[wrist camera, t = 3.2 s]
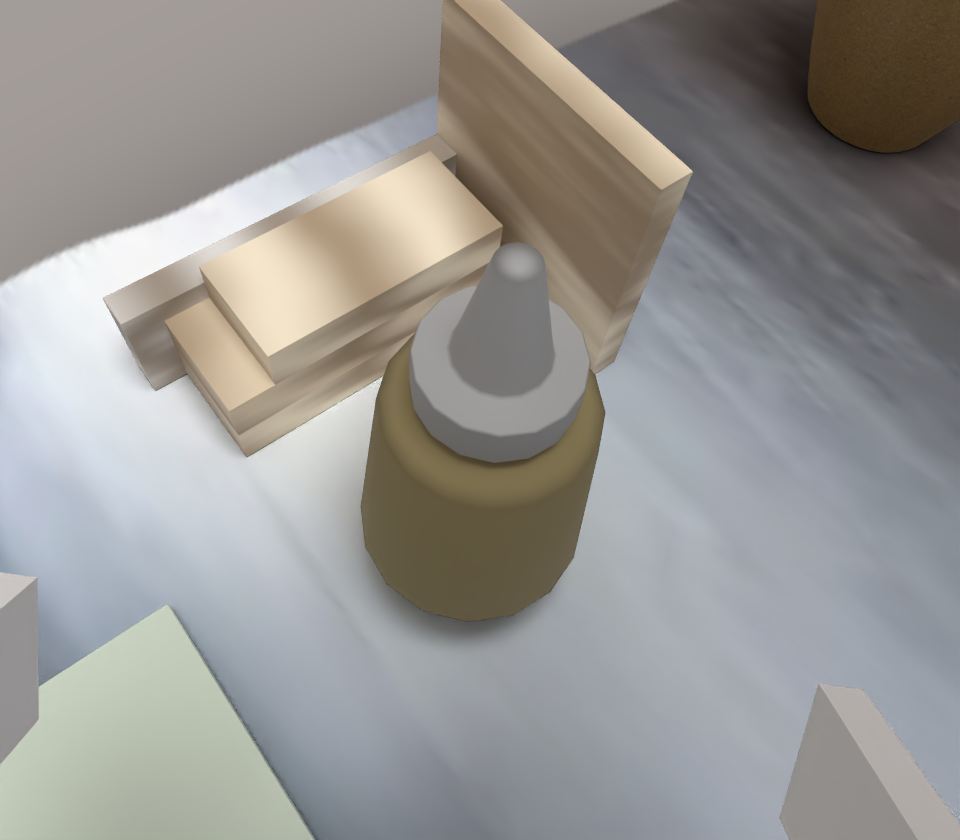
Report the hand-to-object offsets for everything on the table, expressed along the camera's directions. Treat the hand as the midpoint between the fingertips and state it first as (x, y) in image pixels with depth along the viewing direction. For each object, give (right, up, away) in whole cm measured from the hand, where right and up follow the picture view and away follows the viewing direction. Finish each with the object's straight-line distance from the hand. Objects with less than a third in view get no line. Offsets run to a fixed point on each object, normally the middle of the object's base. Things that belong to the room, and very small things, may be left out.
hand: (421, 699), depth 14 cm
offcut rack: (-3, +7, +23) cm, 25 cm away
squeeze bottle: (0, -1, +20) cm, 20 cm away
